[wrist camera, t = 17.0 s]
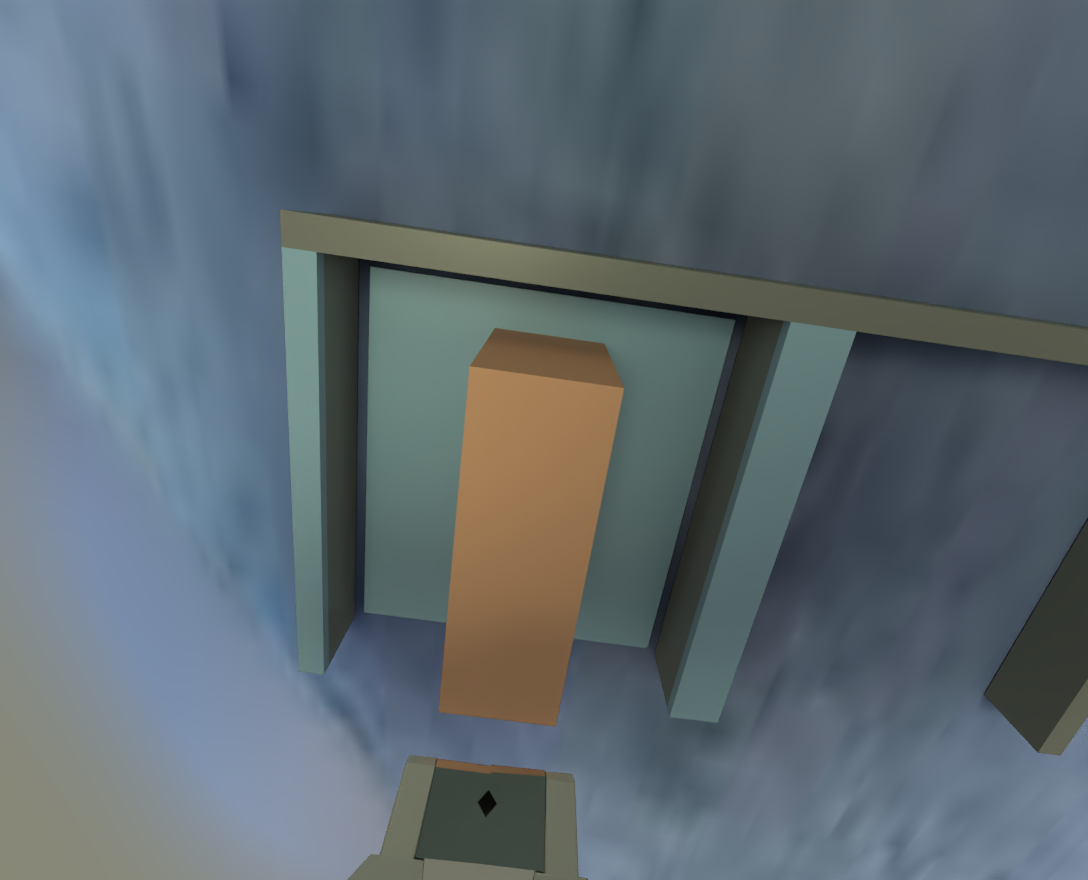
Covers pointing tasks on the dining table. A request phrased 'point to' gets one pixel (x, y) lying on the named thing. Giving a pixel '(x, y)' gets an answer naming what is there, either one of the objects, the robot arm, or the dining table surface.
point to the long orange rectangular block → (525, 521)
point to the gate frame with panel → (638, 448)
